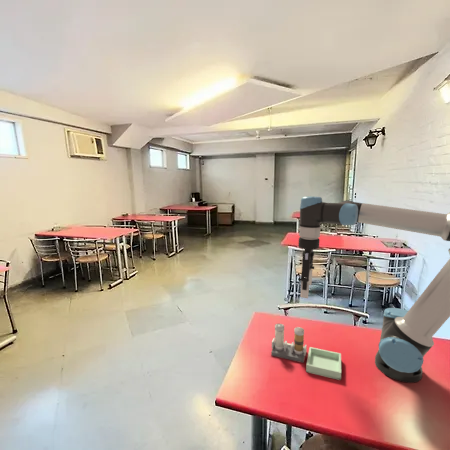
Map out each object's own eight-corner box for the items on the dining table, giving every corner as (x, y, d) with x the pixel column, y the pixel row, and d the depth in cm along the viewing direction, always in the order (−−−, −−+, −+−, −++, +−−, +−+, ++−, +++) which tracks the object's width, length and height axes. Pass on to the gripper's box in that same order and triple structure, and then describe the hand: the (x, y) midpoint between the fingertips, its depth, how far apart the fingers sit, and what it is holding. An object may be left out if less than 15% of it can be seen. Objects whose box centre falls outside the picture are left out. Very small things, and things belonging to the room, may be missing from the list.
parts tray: (340, 360, 106) (340, 353, 106) (340, 380, 96) (341, 372, 95) (309, 353, 111) (309, 346, 111) (306, 372, 100) (306, 364, 100)
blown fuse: (303, 350, 111) (304, 328, 109) (302, 355, 107) (303, 332, 106) (294, 348, 112) (295, 326, 111) (293, 353, 109) (293, 331, 107)
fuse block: (306, 351, 112) (307, 341, 112) (304, 363, 105) (305, 352, 104) (274, 344, 118) (274, 335, 117) (270, 355, 110) (270, 345, 110)
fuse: (284, 346, 114) (285, 324, 112) (282, 351, 110) (283, 329, 109) (275, 344, 115) (276, 322, 114) (273, 349, 112) (274, 327, 110)
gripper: (302, 231, 113) (300, 278, 117) (294, 243, 91) (291, 302, 94) (321, 232, 110) (318, 281, 114) (317, 245, 88) (313, 305, 91)
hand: (306, 290), depth 104 cm, fingers open, 13 cm apart
